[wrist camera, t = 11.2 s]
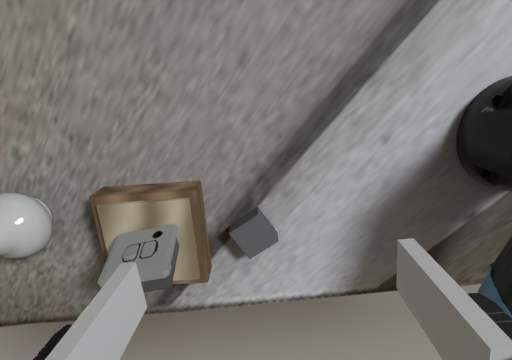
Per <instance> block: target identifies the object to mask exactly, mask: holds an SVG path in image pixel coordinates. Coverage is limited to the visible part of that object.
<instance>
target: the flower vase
mask: <svg viewBox="0 0 512 360" xmlns="http://www.w3.org/2000/svg"><path fill="white" fill-rule="evenodd" d="M51 234H52V214H51V212H50V210H49V208H48V207H47V205H46V204H44V203H43V202H42V201H40V200H39V199H37V198H33V197H30V196H27V195H23V194H20V193H9V192H8V193H2V194H0V256H1V257H5V258H22V257H27V256H30V255H33V254H35V253H37V252H39V251H40V250H42V249H43V248H44V247H45V246H46V245H47V243H48V242H49V240H50V238H51Z"/></svg>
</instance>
